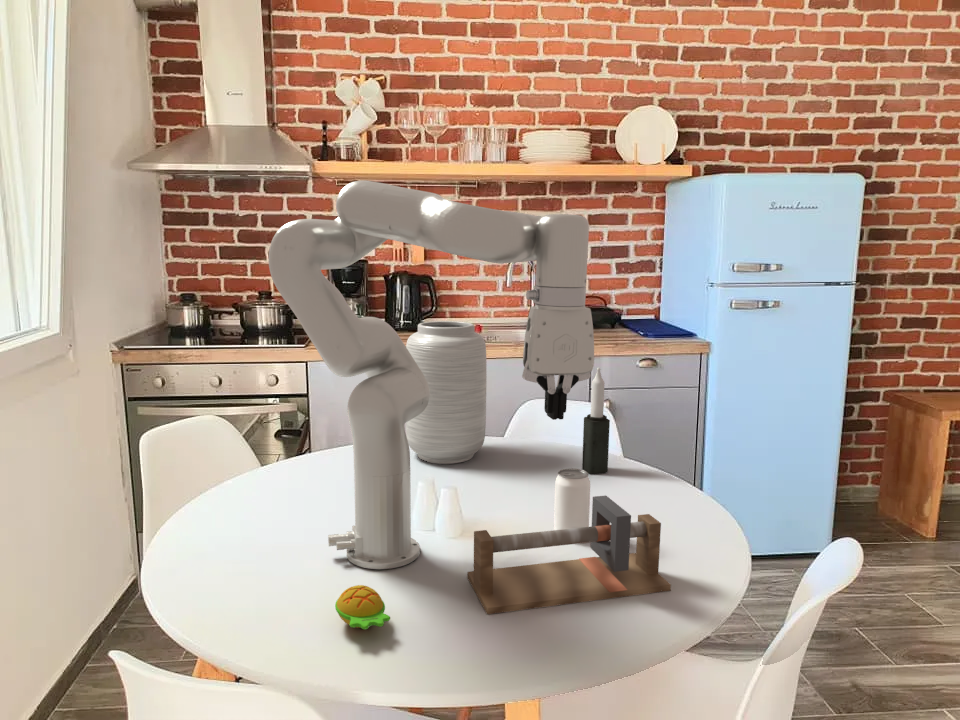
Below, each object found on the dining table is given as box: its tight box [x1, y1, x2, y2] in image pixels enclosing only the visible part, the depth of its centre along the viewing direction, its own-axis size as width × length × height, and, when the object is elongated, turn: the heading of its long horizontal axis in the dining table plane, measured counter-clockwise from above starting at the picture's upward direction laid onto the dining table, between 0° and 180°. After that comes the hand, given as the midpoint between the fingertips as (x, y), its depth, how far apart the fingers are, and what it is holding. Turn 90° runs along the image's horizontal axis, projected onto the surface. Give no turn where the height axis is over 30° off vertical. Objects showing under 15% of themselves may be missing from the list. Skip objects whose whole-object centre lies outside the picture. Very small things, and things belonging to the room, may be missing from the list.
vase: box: [405, 320, 487, 465], centre depth 180 cm, size 20×20×34 cm
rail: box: [466, 513, 672, 615], centre depth 114 cm, size 30×12×10 cm, turn 105°
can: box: [553, 468, 591, 530], centre depth 133 cm, size 6×6×12 cm
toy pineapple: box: [334, 584, 391, 630], centre depth 101 cm, size 7×10×5 cm
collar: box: [590, 495, 632, 572], centre depth 116 cm, size 2×9×9 cm, turn 15°
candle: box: [581, 367, 611, 475], centre depth 170 cm, size 5×5×25 cm
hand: (554, 417), depth 111 cm, fingers closed
